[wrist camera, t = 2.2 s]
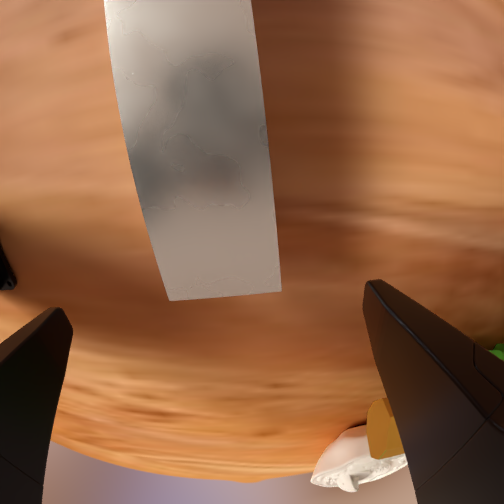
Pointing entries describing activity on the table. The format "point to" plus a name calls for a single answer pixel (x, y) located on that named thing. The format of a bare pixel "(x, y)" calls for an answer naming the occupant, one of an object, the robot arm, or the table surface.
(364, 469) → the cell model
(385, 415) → the decorative tree
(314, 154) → the table surface
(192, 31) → the grey rectangular bar
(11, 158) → the table surface
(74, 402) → the table surface
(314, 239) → the table surface
